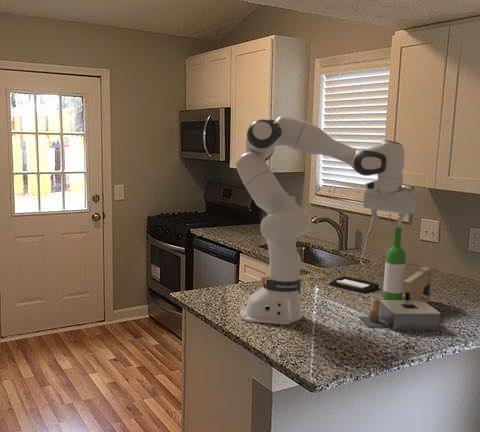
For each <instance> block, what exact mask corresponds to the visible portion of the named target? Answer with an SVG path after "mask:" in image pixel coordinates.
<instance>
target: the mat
mask: <svg viewBox="0 0 480 432" xmlns="http://www.w3.org/2000/svg"><path fill="white" fill-rule="evenodd" d="M358 318H359V319H360V321H362V323H363V324H364V325H365V326H366V328H390V326H389V325H388V324H387V323H386V322H385V321H384V320H383V319H382V318H381V317H379V321H378V323H373V322H370V316H361V315H359V316H358Z"/></svg>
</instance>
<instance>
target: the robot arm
mask: <svg viewBox="0 0 480 432" xmlns="http://www.w3.org/2000/svg"><path fill="white" fill-rule="evenodd" d="M276 146H285V147H289V148H290V149H293V150H295V151H298V152H300V153H303V154H304V153H305V154H308V155H322V156H327V157H331V158H333V159H336V160H338V161H341V162H344V163H345V164H347V165H349V166H350V167H351V168H352V169H353V170H354V172H356V173H357V174H359V175H361V176H363V177H364V176H365V177H367V176H372V175H373V176H374V175H377V180H373V181H370V182H366V183H365V186H364V187H365V190H364V192H363V198H362V206H363V208H364V209H368V210H369V209H370V212H371V215H372V219H373V220H372V221H373V222H375V223H376V222H380V216H378V214H377V212H378V211H383V212H384V211H385V212H389V213H390V212H392V213H398V216H399V217H398V218H397V219H395V222H394V223H395V224H394V225H396V226H401V225H402V222H403V220H404V218H405V217H406V215H412V214H414V213H415V212H416V191H415V190H414V189H413V188H412V187H405V186H403V185H404V184H403V181H404V175H403V171H404V167H405V148H404V145H402V143H400V142H397V141H393V140H387V139H386V140H382V141H381V142H379V143H378V144H376V145H374V146H371V147H368V148H355V147H352V146H349V145H347V144H345V143H342V142H339V141H337V140H335V139H333V138H332V137H331V136H329V134H327V133H326V132H325V131H324V130H323V129H321V128H320V127H318V126H317V125H315V124H313V123H311V122H309V121H306V120H303V119H301V118H297V117H294V116H290V115H285V114H282V115H279V116H278V117H277V118H276V119H266V118H265V119H261V118H260V119H258V120H255V121H252V123H251V124H249V126H248V128H247V132H246V137H245V152H244V153H241V154H240V156H239V157H238V158H237V160H236V162H235V167H236V168H235V169H236V170H237V173H238V175H239V178H240V179H241V181H242V184H243V185H244V187H245V189H246V191H247V192H248V194H249V195H250V197H251V198H252V201H253V202H254V203H255V205H256V206H257V207H258V208H259V209H262V210H263V211H264V212H265V213H266V216H265V217H264V218H262V220H261V222H260V225H259V227H260V229H259V230H260V232H261V235H262V237H263V238H264V239H265V241H266V244H267V248H268V255H269V262H268V263H269V267H268V268H269V269H268V276H267V277H266V276H265V275H261V277H260V280H261V282H262V287H260V288H259V289H258V290H256V291H254V292H253V293H251V294H250V296H248V299H247V301H246V306H243V307H241V308H240V311H239V315H240V318H241V319H242V320H243V321H245V322H249V323H262V324H275V325H291V323H294V322H297V321H300V320H301V319H303V314H302V308H301V301H300V300H301V299H300V298H301V297H300V294H301V290H302V279H301V262H302V260H301V255H300V254H299V253H298V252H299V251H298V249H297V244H296V241H297V240H296V239H298V238H300V237H302V236H304V235H305V234H306V233H307V232H308V231H309V230H310V229H311V227H312V217H311V215H310V213H309V212H308V211H307V210H305V209H304V208H302V207H301V206H300V205H299V204H297V202H296V201H295V200H294V199H293V198H292V197H291V196H290V195H289V194H288V192H287V191H285V189H284V187H282V185H281V184H280V182H279V180H278V179H277V178H276V176H275V174H274V173H273V171H272V169H271V168H270V167H269V165H268V163H267V161H268V160H270V158H271V157H272V155H273V154H274V151H275V149H276Z"/></svg>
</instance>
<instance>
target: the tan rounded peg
mask: <svg viewBox="0 0 480 432" xmlns="http://www.w3.org/2000/svg"><path fill="white" fill-rule="evenodd" d="M380 303H381V299H379V298H376V297H375V298H374V297H373V298H370V309H369V310H370V313H369V317H370V322H373V323H378V321H379V316H380Z"/></svg>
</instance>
